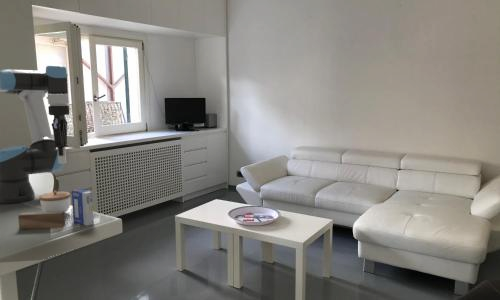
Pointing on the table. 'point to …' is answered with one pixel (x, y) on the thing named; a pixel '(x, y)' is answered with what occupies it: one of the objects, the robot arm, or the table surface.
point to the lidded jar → (55, 201)
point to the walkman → (82, 207)
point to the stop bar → (41, 220)
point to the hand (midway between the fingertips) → (62, 163)
